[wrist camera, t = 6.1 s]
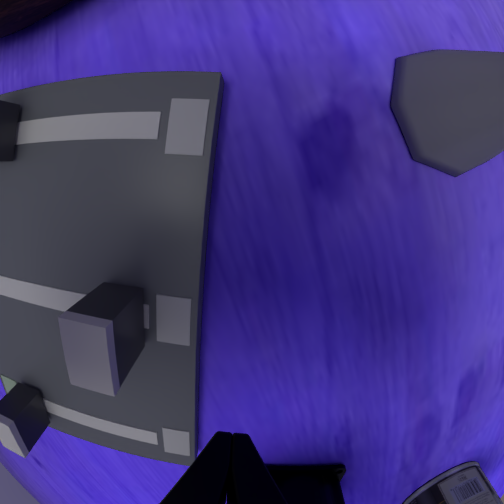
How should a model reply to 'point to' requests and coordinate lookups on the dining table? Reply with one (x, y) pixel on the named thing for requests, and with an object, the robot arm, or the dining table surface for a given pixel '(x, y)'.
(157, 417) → the panel
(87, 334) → the block
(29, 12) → the wooden bowl
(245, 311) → the dining table surface
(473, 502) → the coffee can
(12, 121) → the block
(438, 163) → the flask
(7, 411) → the breaker far
